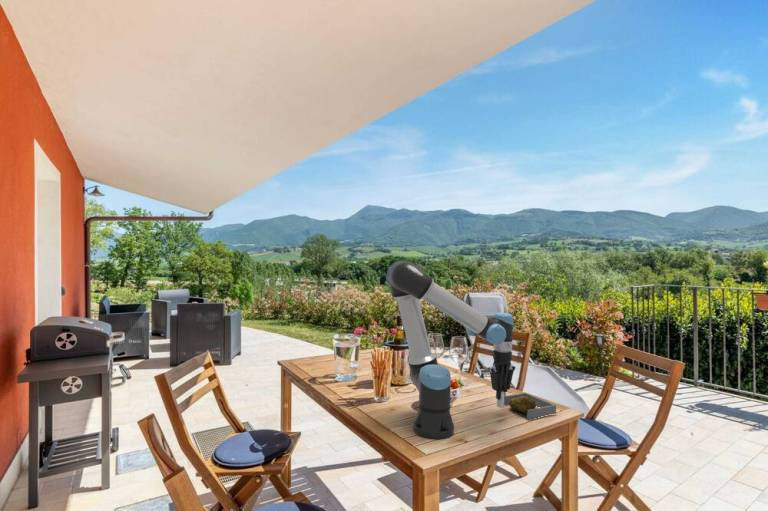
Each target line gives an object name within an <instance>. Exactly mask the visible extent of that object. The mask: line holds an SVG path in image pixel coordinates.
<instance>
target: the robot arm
mask: <svg viewBox="0 0 768 511" xmlns="http://www.w3.org/2000/svg"><path fill="white" fill-rule="evenodd" d="M386 281H387V283H388V285H389V287H390V292H391V294H392V296H391V297H392V299H394V300H396V301H397V304H398V308H399V314H400V317H401V321H402V326H403V330H404V332H405V333H404V334H405V338H406V343H407V347H408V350H409V354H410V357H409V359H408V361H407V362H408V363H407V364H408V366H409V378H410V381H411V382H412V384H413V385H414V386H415V388H416V390H417V391H418V410H417V413H416V416H415V419H414V421H413V431H414V433H415V434H416V435H418V436H420V437H423V438H427V439H432V440H443V439H447V438H450V437H452V436H453V435H454V434H455V425H454V422H453V418H452V414H451V385H452V384H451V383H452V378H451V372H450V370H449V369H448V368H447V367H445V366H442V365H441V364H440V365H439V362H438V360H437V355H436V354H435V353H433V352H432V350H431V345H430V341H429V338H428V332H427V329H426V324H425V319H424V316H423V312H422V307H421V303H420V300H423V301H426V302H427V303H428V304H430V305H432V306H433V307H434V308H436V309H437V310H439V311H441V312H442V313H444V314H445V315H447V316H449V317H450V318H451V319H452V320H455V321H456V322H458V323H459V324H461V325H462V326H464V327H465V331H466V332H465V333H466V334H467V336H470V337H479V338H481V339H483V340H485V341H487V342H488V343H490V344H492V345H493V346H492V347H493V351H492V359H493V363H492V366H490V367H488V368H487V370H488V373H489V374H490V375H489V376H490V381H491V382H490V383H491V389H492V390H494V391H495V392H496V394H495V399H496V407H498V408H500V409H504V408H505V406H504V399H505V396H506V394H507V393H508V390H510V389H511V385H512V380H513V377H514V372H515V371H516V370H515V369H516V366H515V365H513V364H512V357H513V352H512V350H513V335H514V334H513V332H514V317H513V314H511V313H509V312H495V313H494V317H487V316H486V315H484V314H483V313H481V312H480V311H478V310H477V309H475V308H474V307H472V306H471V305H469V304H467V303H466V302H465V301H463V300H462V299H460V298H459V297H457V296H456V295H454V294H452V292H450V291H449V290H446V289H445V288H444V287H442V286H441V285H439V284H438V283H436V282H435V281H434V278H433V277H431V276H430V275H429V274H428V273H426V272H425V271H423V270H422V269H421V268H420V267H419V266H418V265H416V264H415V263H413V262H410V261H405V260H398V261H395V262H393V263H392V264H391V265H390V266H389V267H388V269H387V271H386Z"/></svg>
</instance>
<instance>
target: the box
mask: <svg viewBox="0 0 768 511" xmlns="http://www.w3.org/2000/svg"><path fill="white" fill-rule="evenodd" d="M521 396H527V397H531V398H532V399H533V400H534V401H535V404H536V406H537V407H540V408H537V407H536V408H535V409H529V410H527V413H526V420H527V419H528V420H527V421H531V420H530V419H533V420H535V419H534V418H538V417H541V416H545V415H549V414H554V413H556V414H557V405H556V404H555V403H551V402H549V401H546V400H545V399H542V398H539V397H537V396H534V395H532V394H530V393H527V392H521V393H515V394H510V395H505V399H504V405H506V406H510V405H509V401H510V399H513V398H518V397H521ZM538 419H539V418H538Z"/></svg>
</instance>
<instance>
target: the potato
mask: <svg viewBox="0 0 768 511" xmlns="http://www.w3.org/2000/svg"><path fill="white" fill-rule="evenodd" d="M508 406H509V408H511V409H513V410H515V411H517V412H519V413H522V414H527V410H529V409H535V408H537V407H536V404H535V401H534V400H533V399H532V398H531V397H527V396H521V397H518V398H513V399H510V401H509V405H508Z"/></svg>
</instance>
